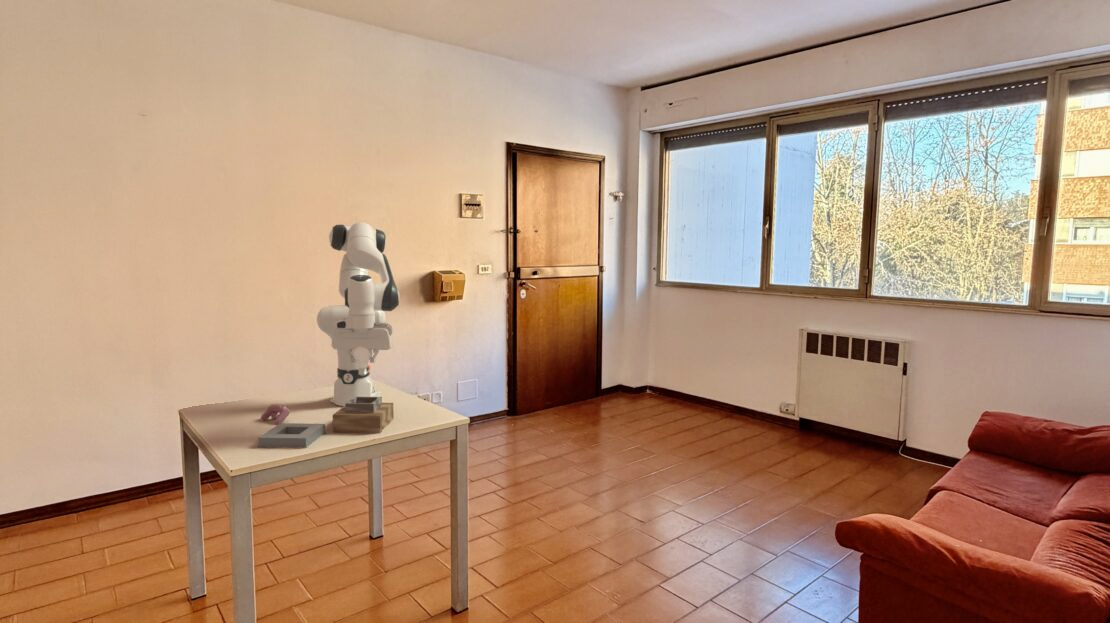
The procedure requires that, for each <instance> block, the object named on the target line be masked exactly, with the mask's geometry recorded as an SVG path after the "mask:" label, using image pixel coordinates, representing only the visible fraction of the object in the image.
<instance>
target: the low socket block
mask: <svg viewBox="0 0 1110 623" xmlns="http://www.w3.org/2000/svg"><path fill="white" fill-rule="evenodd" d="M325 433H326V423H302V422H301V423H297V422H296V423H295V422H293V423H290V422H286V423H285V422H282V423H280V424H276V426H274V427H272V428H271V429H269V430H267V431H266V432H264V433H262V434H261V435H260V436H258V437H257V443H258V444H257V445H258V446H259V447H258V446H257V447H258V448H299V447H306V448H308V447H309V446H310V445H312V444H313V443H314V442H315V441H316V440H317V438H318V439H319V438H320V437H321V436H323V435H324V434H325ZM322 434H323V435H322ZM312 442H313V443H312ZM307 446H308V447H307Z"/></svg>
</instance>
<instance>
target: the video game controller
mask: <svg viewBox="0 0 1110 623" xmlns="http://www.w3.org/2000/svg"><path fill="white" fill-rule="evenodd" d="M289 414H291V411H290V408H289V407H287V406H286V405H284V404H281V403H275V404H271V405H269V406H268V408H266V410H264V412H263V413H262V415H261V416H260V420H261V421H262V420H264V421H266V420H268V419H270V418H271V420H274V421H275V424H276V425H278V424H280V423H284V422H285V420H286V418H287V417H288V416H289Z"/></svg>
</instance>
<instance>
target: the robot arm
mask: <svg viewBox="0 0 1110 623" xmlns="http://www.w3.org/2000/svg"><path fill="white" fill-rule="evenodd" d="M386 236H387V235H386V233H385V232H384V231H383V230H380V229H377V228H375V229H374V228H373V227H372V226H371V225H370V224H368V222H367V223H366V222H363V221H362V222H361V221H360V222H355V223H354V224H351V225H349V224H348V225H344V224H334V225H333V226H332V229H330V232H329V235H328V239H329V241H328V242H329V244H330V247H331V248H332V249H333V250H335V251H340V252H341V251H343V252H345V254H343V257H342V261H341V264H340V269H339V282H338V292H339V294H340V296H341V297H342V298H343V299H344V305H341V304H340V305H336V304H334V305H329V306H324V307H322V308H321V309H320V310H319V311H318V313H317V315H316V323H317V326H318V328H319V330H320V331H321V332H323V333H324V334H326V335H327V336H329V337H330V339H331V347H332V349H333V350H336V353H337V354H336V355H337V366H338V367H337V369H336V370H337V371H336V374H337V379H335V381H334V383H333V386H334V387H333V397H332V398H330V400H329V401H330V403H333V404H335V405H337V406H340V407H344V406H345V404H346V403H347V402H348V401H350V400H351V399H352V398H354V397H381V395H382V392H381V391H380V390H376V381H375V380H374V379H373V378H372V377H371V375H370V374H371V373H370V371H371V365H370V364H368V365H367V371H366V373H367V374H366V375H364V376H361V375H359V367H358V365H357V362H356V360H355V359H354V357H353V351H354V349H356V348H357V347H364V348H366V349H367V350H372V357H371V358H370V360H369V363H372V364H374V363H376V362H377V358H376V357H377V356H378V354H379V352H380V351H388V350H391V349H392V347H393V337H392V335H393V327H392V325H391V324H389V323H387V317H386V313H385V312H392V311H394V310H396V308H397V307H398V306H399V304H400V292H399V290H398V288H397V287H398V286H397V285H396V283H395V280H394V276H393V273H392V270H391V267H390V263H389V260H388V258H387V256H386V254H384V251H385V249H386V247H387V237H386ZM369 271H372V272H374V273H376V274H379V277H380V280H381V283H374V280H373V277H371V276H370V275H369ZM380 394H381V395H380Z"/></svg>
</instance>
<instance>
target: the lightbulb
mask: <svg viewBox="0 0 1110 623" xmlns="http://www.w3.org/2000/svg"><path fill="white" fill-rule="evenodd" d="M353 357H354V359H355V360H356V362H357V365H358V367H359V375H361V376H364V375H366V374H367V373H366V371H367V365H369V363H370V358H371V357H373V350H367V349H366V348H364V347H357V348H356V349H354V351H353Z"/></svg>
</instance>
